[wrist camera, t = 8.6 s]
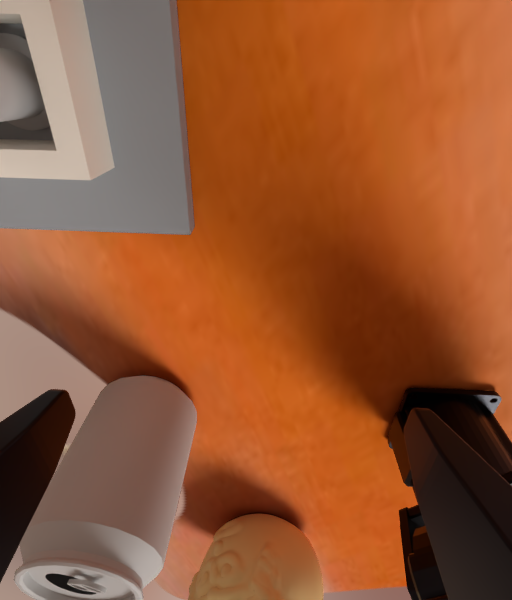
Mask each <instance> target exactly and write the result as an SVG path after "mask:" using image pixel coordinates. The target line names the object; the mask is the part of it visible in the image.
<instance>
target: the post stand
mask: <svg viewBox="0 0 512 600" xmlns="http://www.w3.org/2000/svg"><path fill="white" fill-rule="evenodd" d="M83 4H84V9H85V14H86V20H87V25H88V30H89V35H90V41H91V46H92V51H93V56H94V62H95V67H96V72H97V77H98V83H99V88H100V93H101V99H102V104H103V109H104V114H105V120H106V125H107V130H108V135H109V141H110V146H111V151H112V156H113V162H114V167H115V168H113V169H111V170H109V171H107V172H105V173H104V174H102V175H100V176H98V177H96V178H94V179H92V180H64V179H33V178H3V177H0V228H12V229H41V230H69V231H97V232H125V233H153V234H182V235H190V234H191V232H192V231H193V229H194V227H195V224H194V212H193V199H192V187H191V174H190V162H189V149H188V137H187V124H186V112H185V100H184V87H183V75H182V62H181V50H180V37H179V25H178V12H177V0H83ZM0 139H15V140H49V141H54V139H53V135H52V131H51V128H50V124H49V120H48V117H47V113H46V109H45V105H44V102H43V98H42V94H41V90H40V87H39V83H38V79H37V76H36V72H35V68H34V64H33V61H32V57H31V53H30V50H29V46H28V42H27V38H26V35H25V31H24V27H23V24H4V23H0Z"/></svg>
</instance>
